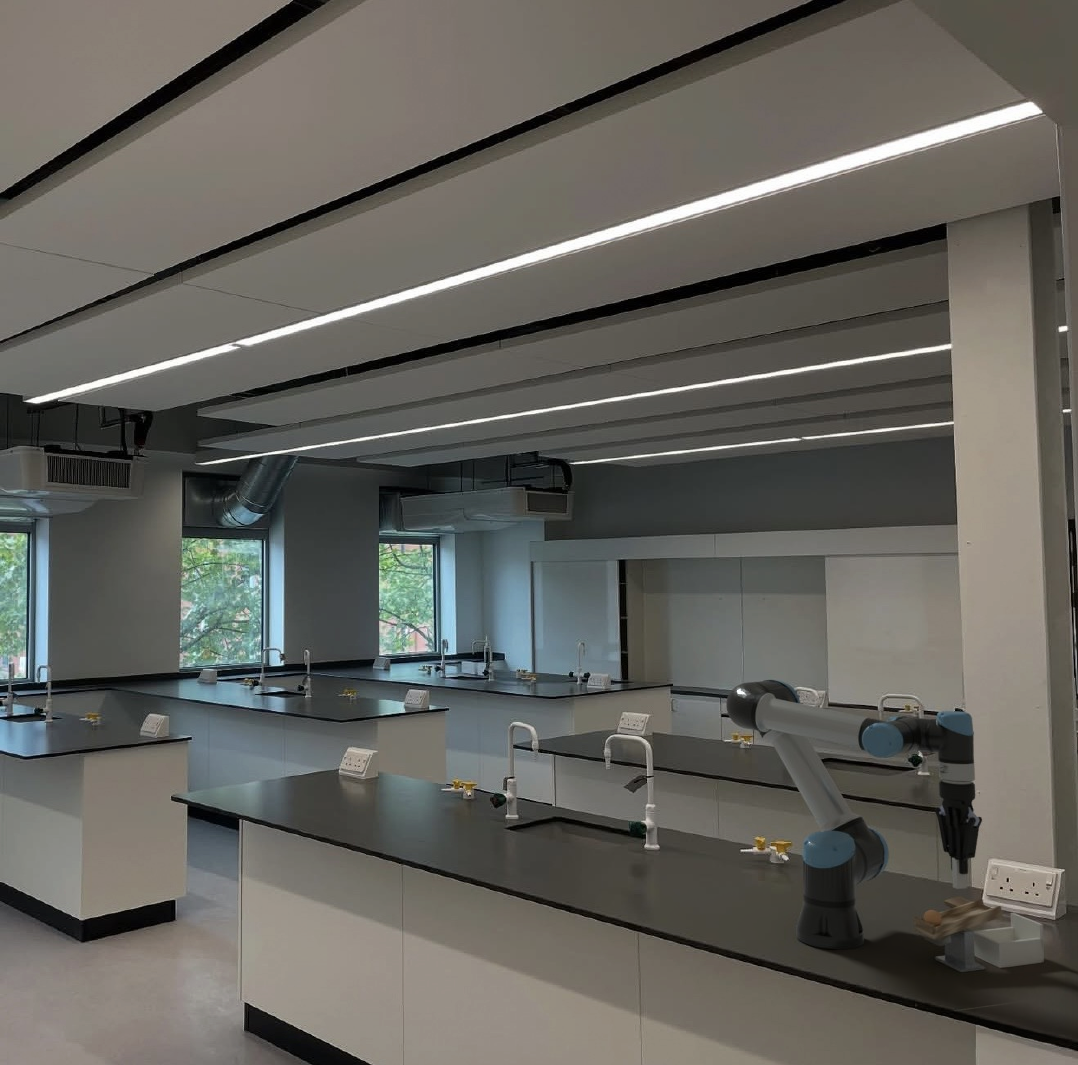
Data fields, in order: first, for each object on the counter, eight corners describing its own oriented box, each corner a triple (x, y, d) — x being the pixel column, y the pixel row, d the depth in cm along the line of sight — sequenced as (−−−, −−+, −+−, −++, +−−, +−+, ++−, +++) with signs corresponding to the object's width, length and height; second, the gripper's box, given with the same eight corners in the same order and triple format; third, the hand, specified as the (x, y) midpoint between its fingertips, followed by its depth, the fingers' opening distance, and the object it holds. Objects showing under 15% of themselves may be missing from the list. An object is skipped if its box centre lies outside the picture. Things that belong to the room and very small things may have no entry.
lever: (935, 949, 214) (931, 926, 214) (896, 929, 227) (892, 908, 227) (1004, 925, 220) (1000, 903, 220) (962, 908, 232) (958, 887, 232)
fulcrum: (961, 972, 215) (960, 934, 215) (935, 959, 222) (934, 922, 223) (984, 969, 216) (983, 931, 217) (958, 956, 224) (957, 920, 225)
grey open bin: (971, 954, 225) (970, 917, 226) (1014, 949, 229) (1013, 912, 229) (999, 967, 217) (998, 929, 218) (1044, 962, 221) (1042, 924, 221)
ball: (922, 927, 219) (917, 911, 219) (935, 921, 220) (931, 905, 220) (933, 932, 216) (929, 916, 216) (947, 926, 217) (942, 910, 217)
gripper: (923, 777, 236) (926, 881, 234) (963, 786, 224) (966, 897, 222) (950, 775, 238) (954, 878, 237) (991, 784, 226) (994, 894, 224)
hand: (960, 887), depth 229 cm, fingers closed
